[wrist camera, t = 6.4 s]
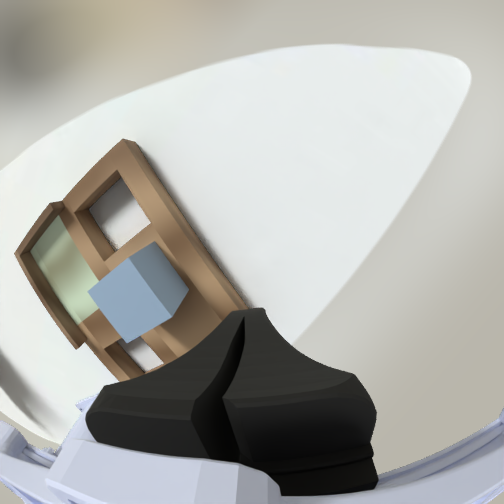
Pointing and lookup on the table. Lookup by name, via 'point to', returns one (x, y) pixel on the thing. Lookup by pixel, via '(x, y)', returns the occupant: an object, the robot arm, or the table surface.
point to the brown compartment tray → (105, 260)
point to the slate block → (140, 293)
